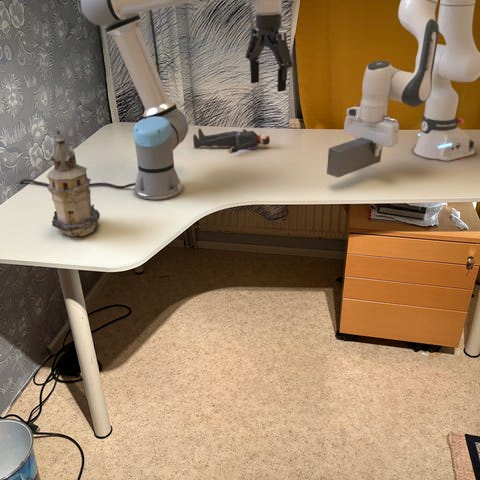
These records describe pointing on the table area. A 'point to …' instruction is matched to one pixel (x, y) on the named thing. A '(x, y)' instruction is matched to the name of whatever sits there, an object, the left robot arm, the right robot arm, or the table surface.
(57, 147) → the miniature building
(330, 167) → the bar
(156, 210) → the table surface
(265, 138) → the toy
